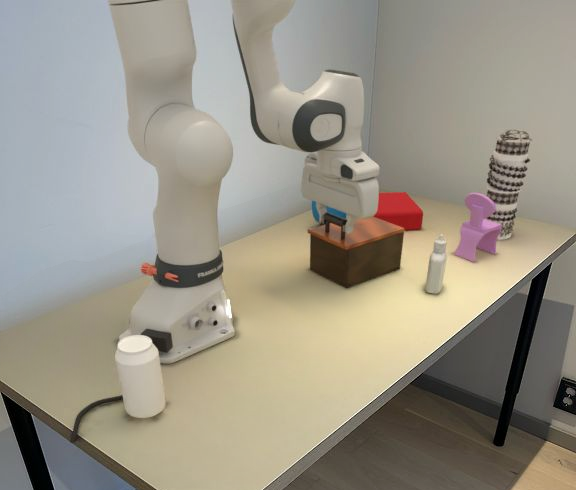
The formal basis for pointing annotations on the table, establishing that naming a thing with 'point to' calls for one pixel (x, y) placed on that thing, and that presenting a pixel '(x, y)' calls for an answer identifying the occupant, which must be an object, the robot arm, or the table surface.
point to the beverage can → (140, 376)
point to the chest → (355, 259)
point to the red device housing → (399, 210)
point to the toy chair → (478, 228)
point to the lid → (354, 231)
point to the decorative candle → (507, 177)
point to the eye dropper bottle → (436, 266)
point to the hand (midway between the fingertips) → (336, 228)
